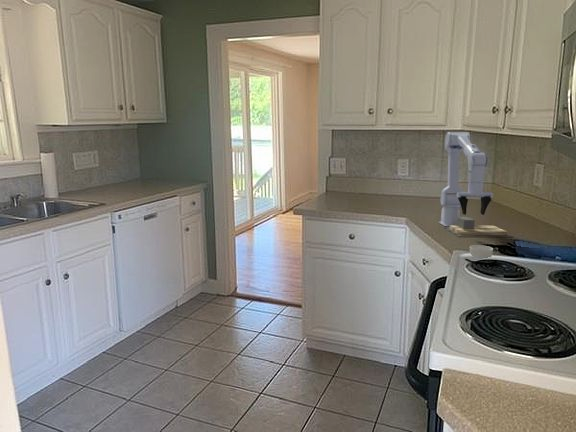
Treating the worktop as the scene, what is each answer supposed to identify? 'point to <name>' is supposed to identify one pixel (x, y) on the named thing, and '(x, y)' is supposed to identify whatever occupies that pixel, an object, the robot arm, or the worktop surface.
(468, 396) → the worktop surface
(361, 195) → the worktop surface
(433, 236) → the worktop surface
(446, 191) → the robot arm
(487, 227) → the pine board
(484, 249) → the teacup
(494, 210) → the worktop surface
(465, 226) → the block
